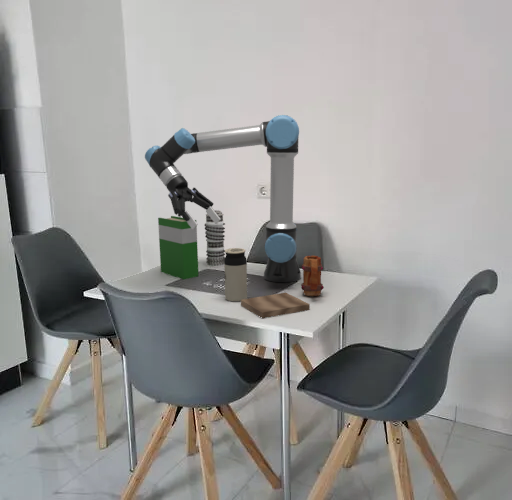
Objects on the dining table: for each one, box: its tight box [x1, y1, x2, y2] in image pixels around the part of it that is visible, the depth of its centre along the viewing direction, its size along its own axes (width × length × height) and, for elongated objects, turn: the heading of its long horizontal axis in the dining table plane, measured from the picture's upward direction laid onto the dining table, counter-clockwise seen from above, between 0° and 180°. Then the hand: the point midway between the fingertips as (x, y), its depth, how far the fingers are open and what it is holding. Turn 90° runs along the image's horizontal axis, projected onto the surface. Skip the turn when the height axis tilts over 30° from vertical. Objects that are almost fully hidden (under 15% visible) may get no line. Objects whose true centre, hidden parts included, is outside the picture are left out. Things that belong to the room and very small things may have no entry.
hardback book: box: [157, 215, 199, 280], centre depth 230 cm, size 18×7×24 cm, turn 42°
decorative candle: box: [204, 209, 226, 268], centre depth 245 cm, size 9×9×25 cm
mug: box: [300, 255, 325, 297], centre depth 195 cm, size 15×8×15 cm, turn 178°
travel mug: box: [223, 247, 248, 303], centre depth 194 cm, size 8×8×18 cm
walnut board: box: [240, 292, 311, 319], centre depth 185 cm, size 18×16×2 cm
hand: (207, 224), depth 197 cm, fingers open, 13 cm apart
